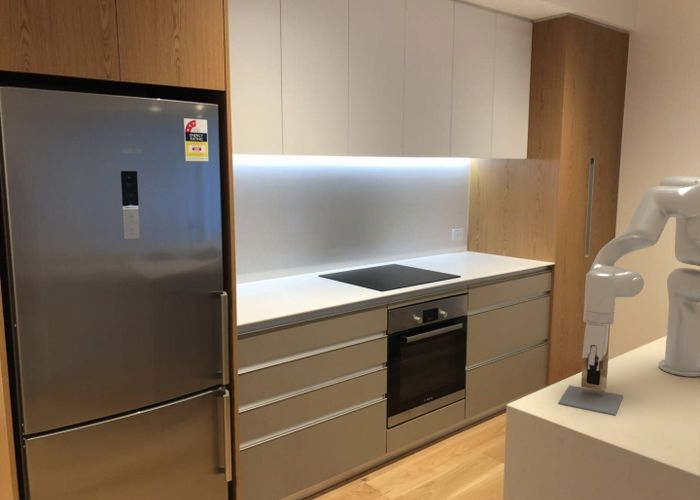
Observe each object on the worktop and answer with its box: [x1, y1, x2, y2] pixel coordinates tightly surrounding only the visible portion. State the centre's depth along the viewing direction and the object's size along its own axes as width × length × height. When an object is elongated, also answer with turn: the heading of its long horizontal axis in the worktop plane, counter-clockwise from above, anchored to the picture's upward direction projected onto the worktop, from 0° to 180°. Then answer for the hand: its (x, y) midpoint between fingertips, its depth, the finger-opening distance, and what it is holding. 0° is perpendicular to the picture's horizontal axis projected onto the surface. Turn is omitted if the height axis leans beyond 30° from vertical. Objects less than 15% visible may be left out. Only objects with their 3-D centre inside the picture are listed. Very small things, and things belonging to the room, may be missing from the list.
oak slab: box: [580, 355, 609, 392], centre depth 160 cm, size 3×6×9 cm, turn 58°
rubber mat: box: [557, 384, 624, 416], centre depth 157 cm, size 14×14×1 cm
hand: (594, 381), depth 160 cm, fingers closed on oak slab, 3 cm apart
